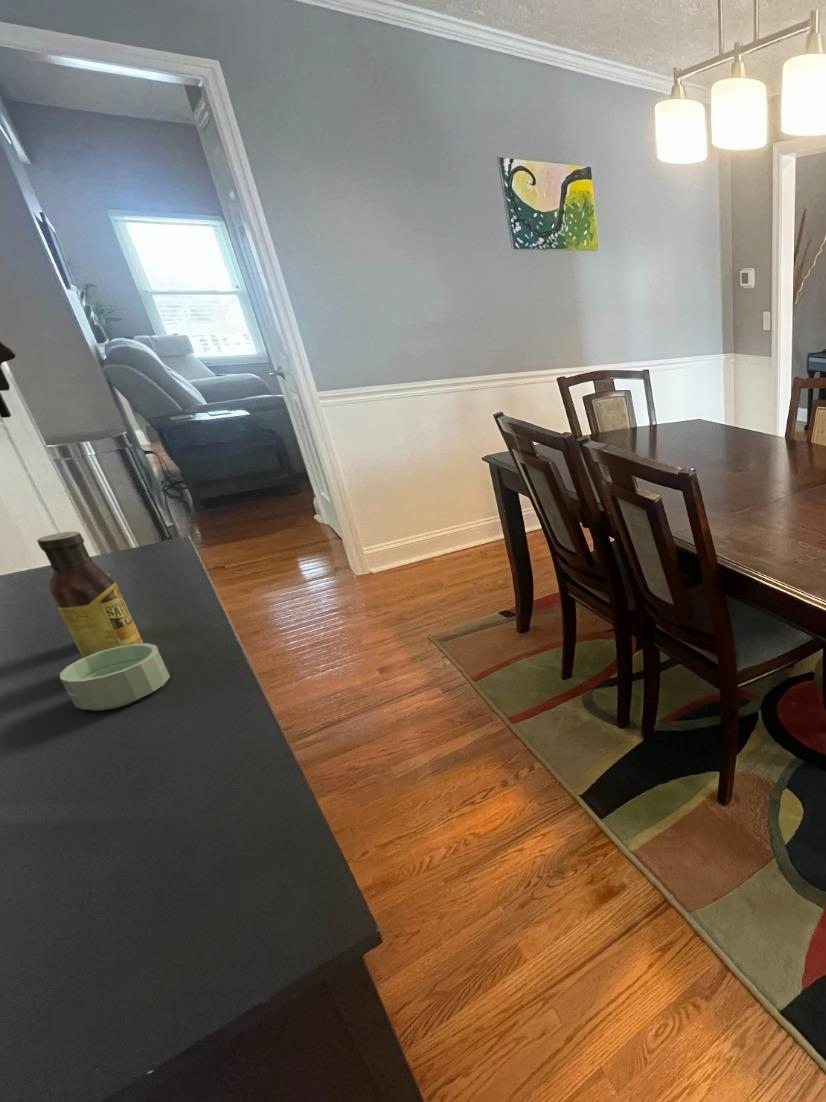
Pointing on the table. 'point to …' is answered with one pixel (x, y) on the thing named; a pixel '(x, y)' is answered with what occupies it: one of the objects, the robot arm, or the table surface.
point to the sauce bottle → (87, 596)
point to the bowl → (115, 676)
